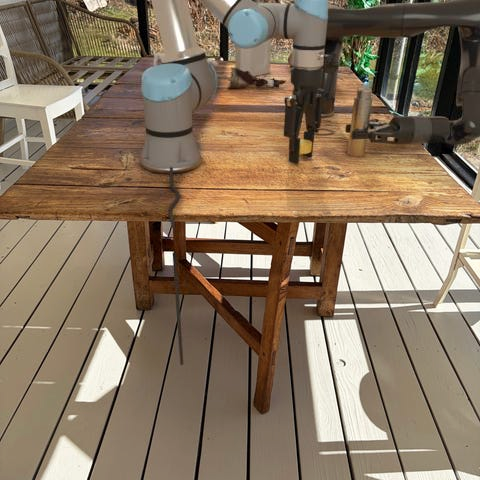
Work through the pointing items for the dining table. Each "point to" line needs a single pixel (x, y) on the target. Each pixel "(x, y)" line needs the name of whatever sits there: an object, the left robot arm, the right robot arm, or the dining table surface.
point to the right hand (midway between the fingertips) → (349, 131)
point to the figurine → (248, 80)
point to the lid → (305, 146)
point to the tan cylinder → (360, 121)
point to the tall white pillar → (254, 59)
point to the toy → (159, 56)
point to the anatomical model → (290, 61)
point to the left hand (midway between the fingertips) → (300, 158)
